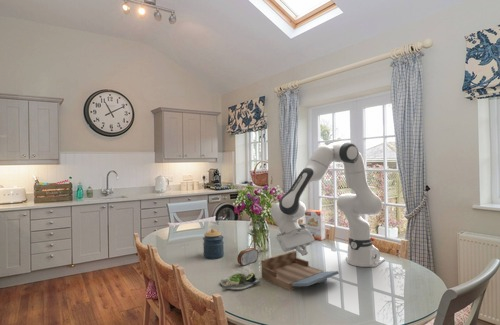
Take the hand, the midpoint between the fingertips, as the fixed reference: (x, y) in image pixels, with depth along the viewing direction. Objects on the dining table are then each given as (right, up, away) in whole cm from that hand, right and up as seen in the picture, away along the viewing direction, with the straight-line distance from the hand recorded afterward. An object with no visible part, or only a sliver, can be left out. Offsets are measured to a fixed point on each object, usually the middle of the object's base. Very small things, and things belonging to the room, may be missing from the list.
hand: (305, 254), depth 151 cm
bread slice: (-28, -15, +30) cm, 44 cm away
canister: (-50, -15, +46) cm, 70 cm away
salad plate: (-32, -15, +2) cm, 35 cm away
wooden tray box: (-5, -14, +7) cm, 17 cm away
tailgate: (+1, -11, -1) cm, 11 cm away
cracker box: (+22, -12, +82) cm, 86 cm away
